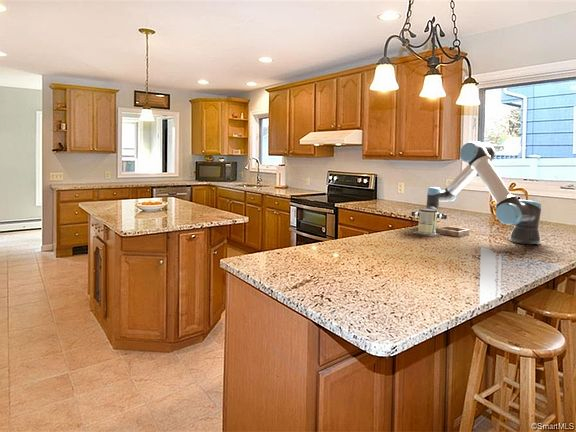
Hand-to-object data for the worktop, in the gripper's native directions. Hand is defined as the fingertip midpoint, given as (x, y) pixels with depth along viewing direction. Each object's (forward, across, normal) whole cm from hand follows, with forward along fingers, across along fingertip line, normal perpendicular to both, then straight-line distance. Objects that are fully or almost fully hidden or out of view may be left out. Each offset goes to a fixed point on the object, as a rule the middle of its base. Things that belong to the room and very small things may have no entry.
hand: (427, 217), depth 242 cm
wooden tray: (-12, -14, -10) cm, 21 cm away
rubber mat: (-3, 0, -10) cm, 11 cm away
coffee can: (-3, 0, -10) cm, 10 cm away
